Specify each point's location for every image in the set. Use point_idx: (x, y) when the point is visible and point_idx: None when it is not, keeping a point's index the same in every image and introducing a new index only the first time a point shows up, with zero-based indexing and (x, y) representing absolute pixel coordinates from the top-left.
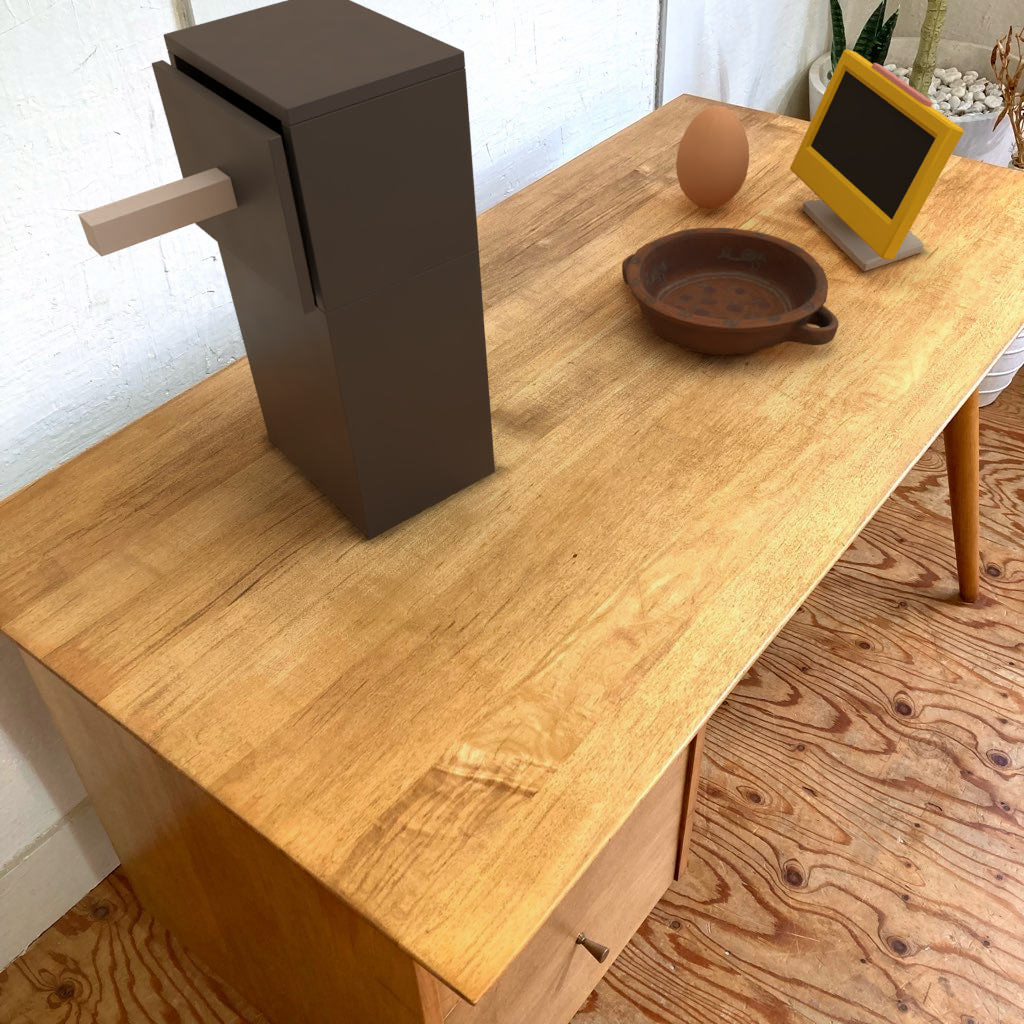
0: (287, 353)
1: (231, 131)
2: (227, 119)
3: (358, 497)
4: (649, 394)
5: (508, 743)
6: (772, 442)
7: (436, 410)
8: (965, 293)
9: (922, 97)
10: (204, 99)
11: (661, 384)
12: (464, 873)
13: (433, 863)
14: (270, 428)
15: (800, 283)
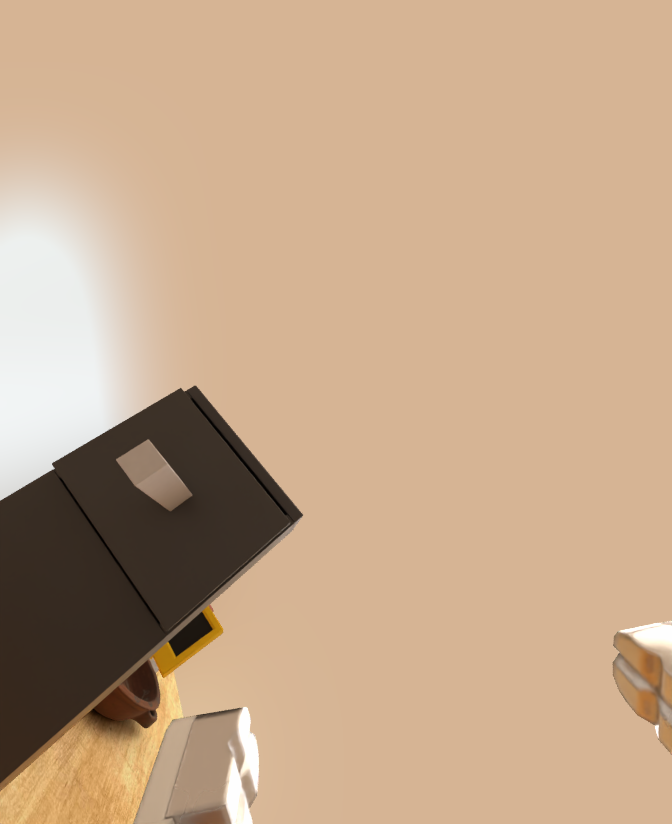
0: (9, 624)
1: (242, 484)
2: (247, 478)
3: None
4: (70, 741)
5: None
6: (130, 814)
7: (53, 741)
8: (171, 709)
9: (211, 607)
10: (231, 451)
11: (75, 732)
12: None
13: None
14: None
15: (139, 676)
